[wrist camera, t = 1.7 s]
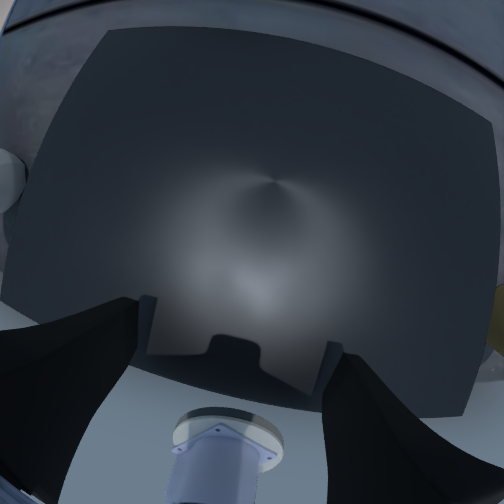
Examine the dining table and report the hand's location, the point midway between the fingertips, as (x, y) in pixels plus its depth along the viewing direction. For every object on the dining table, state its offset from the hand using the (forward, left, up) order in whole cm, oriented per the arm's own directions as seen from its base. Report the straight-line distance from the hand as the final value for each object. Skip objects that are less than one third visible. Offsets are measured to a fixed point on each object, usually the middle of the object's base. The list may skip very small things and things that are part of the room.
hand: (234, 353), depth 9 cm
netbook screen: (+4, +3, -5) cm, 7 cm away
